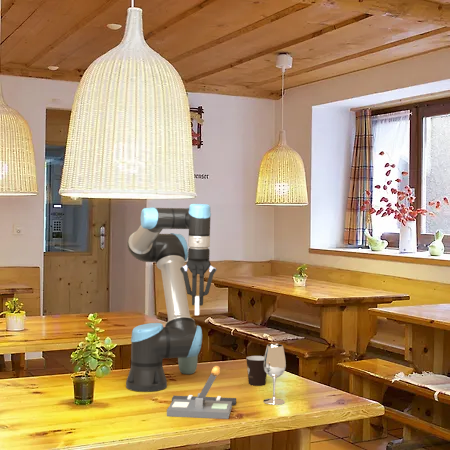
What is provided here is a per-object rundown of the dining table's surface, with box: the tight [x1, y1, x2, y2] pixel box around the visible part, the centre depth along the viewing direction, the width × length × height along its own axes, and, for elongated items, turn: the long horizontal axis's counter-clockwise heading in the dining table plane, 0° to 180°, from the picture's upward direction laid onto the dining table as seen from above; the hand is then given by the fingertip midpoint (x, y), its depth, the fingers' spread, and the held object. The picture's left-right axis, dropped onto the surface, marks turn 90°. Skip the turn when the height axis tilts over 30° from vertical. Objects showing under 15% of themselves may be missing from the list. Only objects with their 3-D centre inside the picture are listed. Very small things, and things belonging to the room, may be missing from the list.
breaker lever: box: [197, 365, 221, 400], centre depth 249 cm, size 3×4×13 cm, turn 175°
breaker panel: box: [166, 392, 233, 420], centre depth 249 cm, size 20×14×5 cm
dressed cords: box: [171, 394, 237, 406], centre depth 260 cm, size 22×5×2 cm, turn 85°
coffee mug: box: [245, 355, 268, 387], centre depth 291 cm, size 12×9×10 cm
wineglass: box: [262, 343, 287, 406], centre depth 263 cm, size 8×8×20 cm
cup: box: [177, 354, 199, 375], centre depth 305 cm, size 8×8×10 cm
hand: (197, 314), depth 265 cm, fingers closed
